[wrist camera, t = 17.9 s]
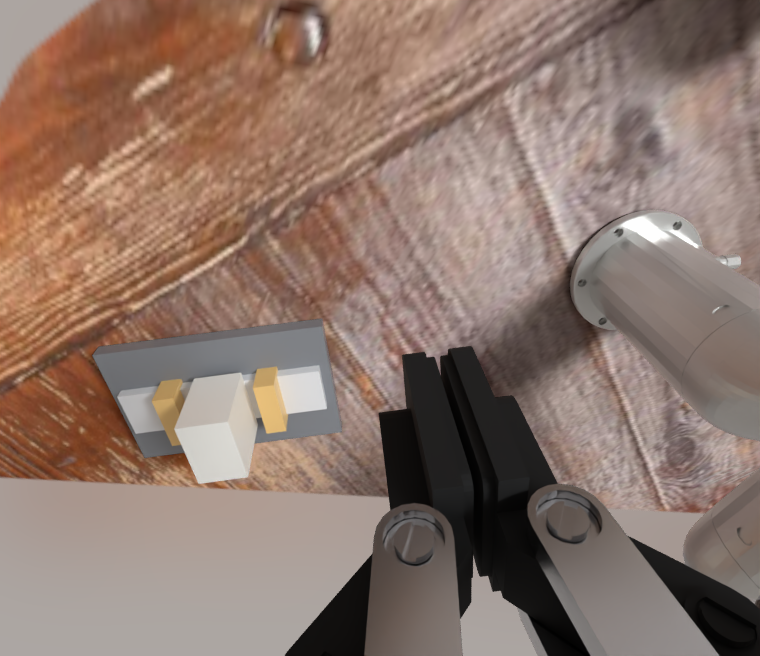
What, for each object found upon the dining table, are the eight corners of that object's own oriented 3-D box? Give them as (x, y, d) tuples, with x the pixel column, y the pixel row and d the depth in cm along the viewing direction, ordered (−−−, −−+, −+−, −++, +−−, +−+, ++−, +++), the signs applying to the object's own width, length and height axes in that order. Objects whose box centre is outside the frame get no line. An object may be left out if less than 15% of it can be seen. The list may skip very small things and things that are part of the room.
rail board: (322, 318, 47) (321, 343, 44) (341, 422, 55) (342, 452, 51) (98, 346, 47) (78, 374, 43) (149, 447, 54) (135, 479, 51)
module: (241, 372, 47) (227, 421, 41) (258, 426, 51) (248, 478, 45) (194, 378, 47) (174, 429, 41) (215, 432, 51) (199, 485, 45)
